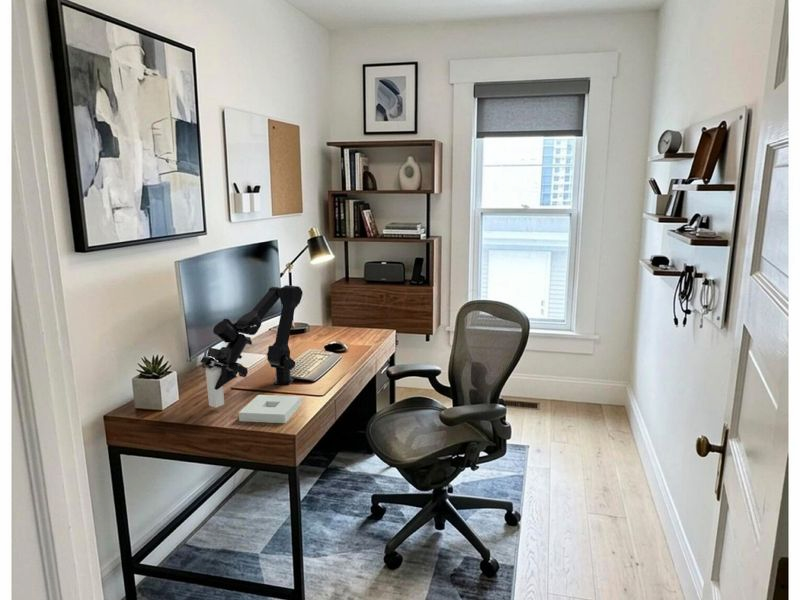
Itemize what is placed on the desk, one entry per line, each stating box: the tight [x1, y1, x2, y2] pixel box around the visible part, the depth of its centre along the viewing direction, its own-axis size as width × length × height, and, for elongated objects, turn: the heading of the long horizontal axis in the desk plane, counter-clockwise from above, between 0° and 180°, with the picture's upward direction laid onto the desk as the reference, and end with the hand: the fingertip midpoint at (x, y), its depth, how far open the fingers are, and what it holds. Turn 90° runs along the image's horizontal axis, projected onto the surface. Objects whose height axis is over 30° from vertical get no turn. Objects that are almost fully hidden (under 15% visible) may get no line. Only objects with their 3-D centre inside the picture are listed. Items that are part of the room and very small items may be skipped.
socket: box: [238, 394, 302, 424], centre depth 183 cm, size 16×16×3 cm
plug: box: [205, 367, 225, 408], centre depth 185 cm, size 4×4×13 cm
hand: (211, 388), depth 183 cm, fingers closed on plug, 4 cm apart
